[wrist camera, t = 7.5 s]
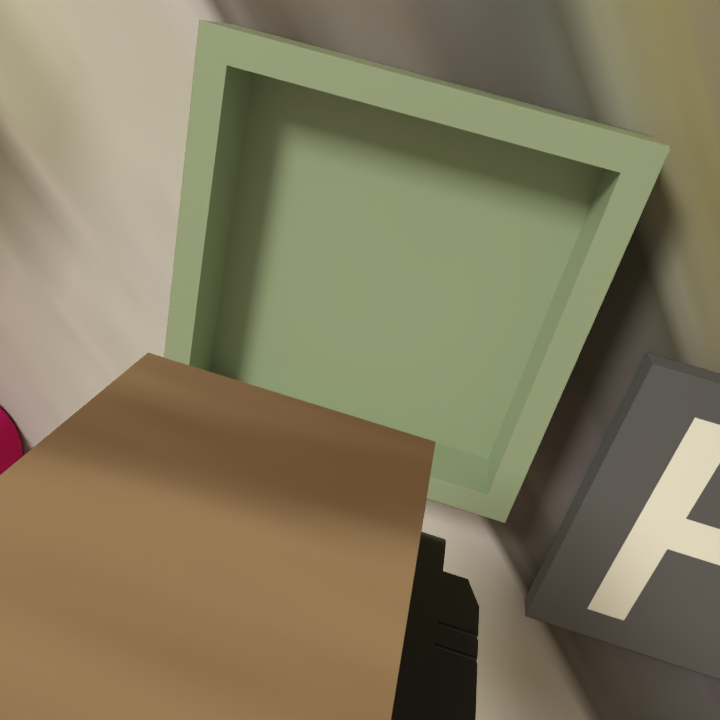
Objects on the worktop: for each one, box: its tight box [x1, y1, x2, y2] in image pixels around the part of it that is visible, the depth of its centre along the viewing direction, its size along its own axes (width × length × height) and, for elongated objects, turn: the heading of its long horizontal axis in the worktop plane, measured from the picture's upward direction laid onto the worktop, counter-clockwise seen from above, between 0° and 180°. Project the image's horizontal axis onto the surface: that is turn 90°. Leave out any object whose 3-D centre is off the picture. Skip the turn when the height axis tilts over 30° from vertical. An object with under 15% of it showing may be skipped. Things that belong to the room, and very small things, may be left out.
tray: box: [164, 20, 671, 523], centre depth 23 cm, size 14×14×3 cm
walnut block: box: [0, 353, 436, 720], centre depth 9 cm, size 5×5×6 cm
